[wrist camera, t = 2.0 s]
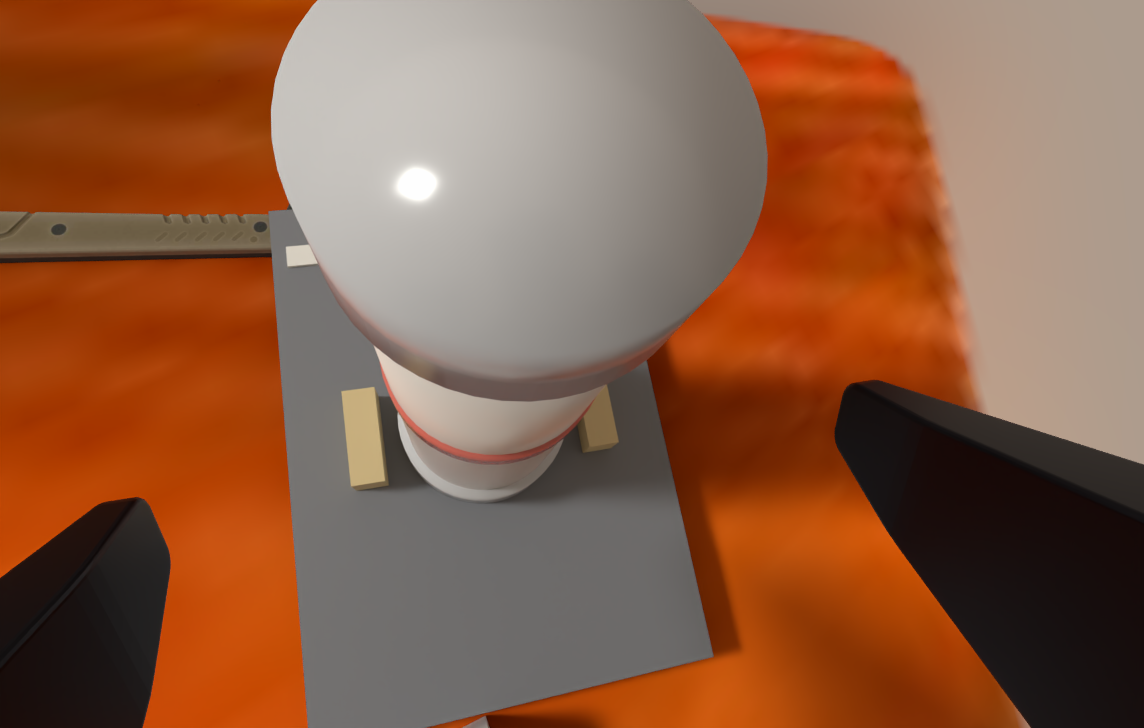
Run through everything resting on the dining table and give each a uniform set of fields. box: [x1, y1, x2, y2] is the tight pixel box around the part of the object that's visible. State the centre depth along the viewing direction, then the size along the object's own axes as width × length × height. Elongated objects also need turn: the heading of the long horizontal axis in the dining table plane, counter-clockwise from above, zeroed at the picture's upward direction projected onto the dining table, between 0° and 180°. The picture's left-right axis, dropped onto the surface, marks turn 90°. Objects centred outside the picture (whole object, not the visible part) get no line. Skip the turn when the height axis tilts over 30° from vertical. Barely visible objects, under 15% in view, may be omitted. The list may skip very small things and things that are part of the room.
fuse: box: [271, 0, 767, 504], centre depth 12 cm, size 4×4×13 cm
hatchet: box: [0, 204, 292, 263], centre depth 19 cm, size 21×7×1 cm, turn 93°
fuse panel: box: [268, 209, 714, 728], centre depth 18 cm, size 14×10×2 cm
